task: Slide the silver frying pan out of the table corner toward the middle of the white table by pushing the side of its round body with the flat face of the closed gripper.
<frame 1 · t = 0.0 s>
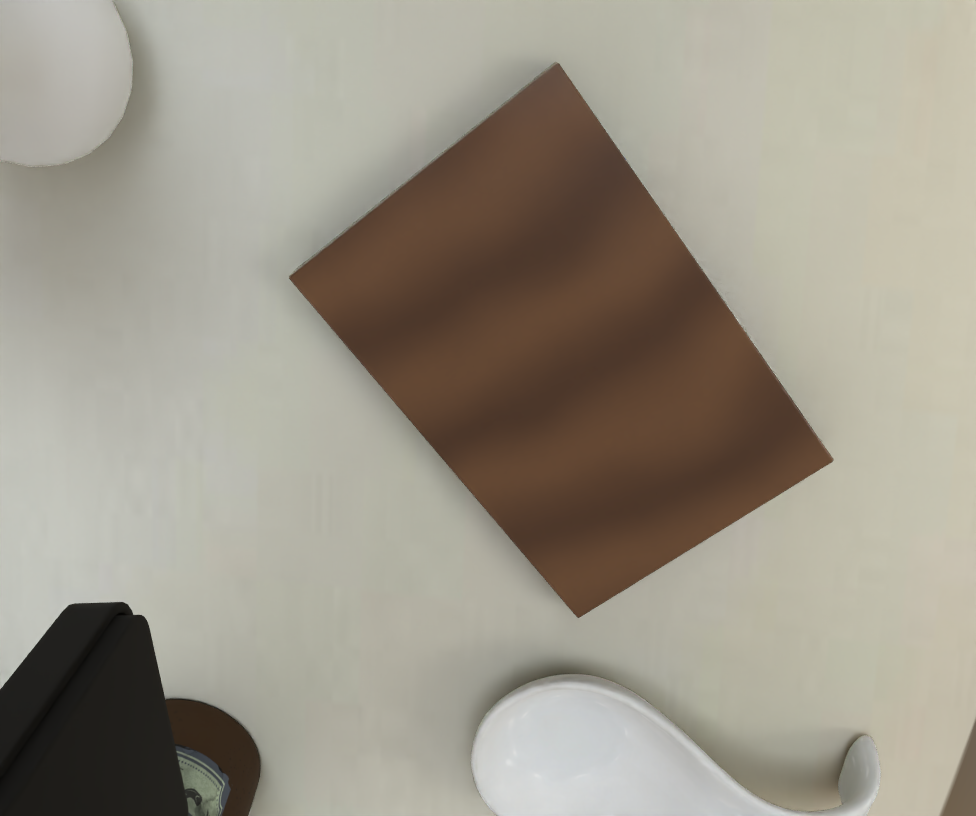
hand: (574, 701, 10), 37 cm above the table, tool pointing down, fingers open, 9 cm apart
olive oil: (188, 755, 58), on the table
walnut board: (567, 360, 48), on the table
flower vase: (48, 38, 43), on the table
spoon rest: (668, 732, 57), on the table
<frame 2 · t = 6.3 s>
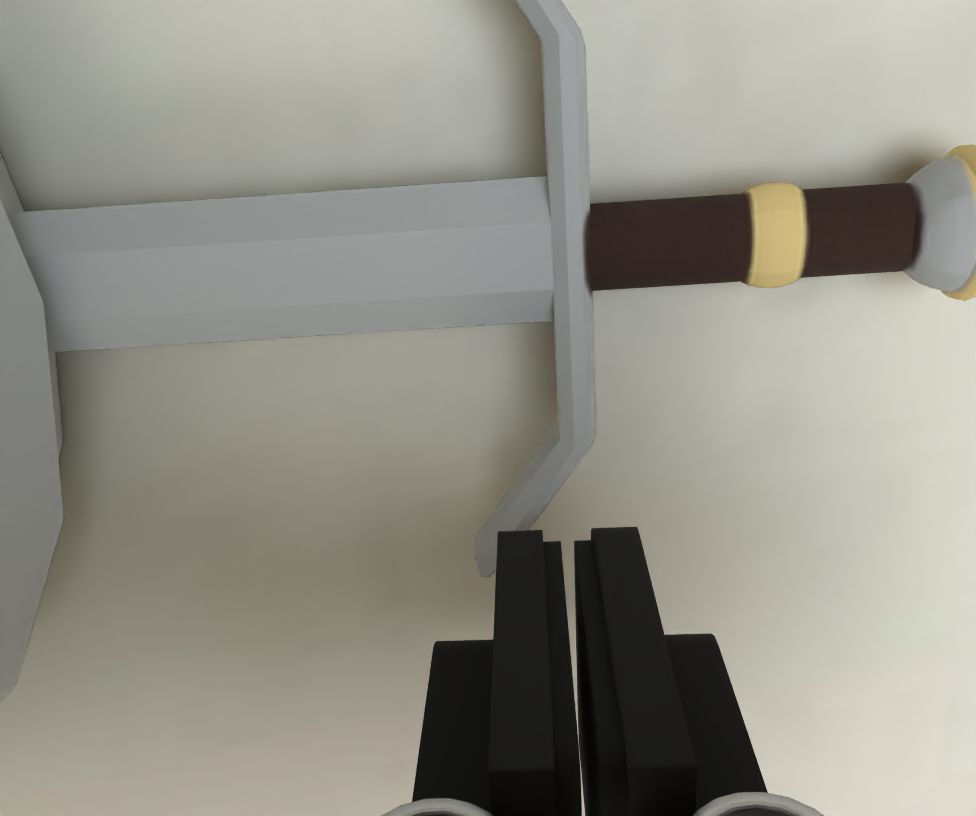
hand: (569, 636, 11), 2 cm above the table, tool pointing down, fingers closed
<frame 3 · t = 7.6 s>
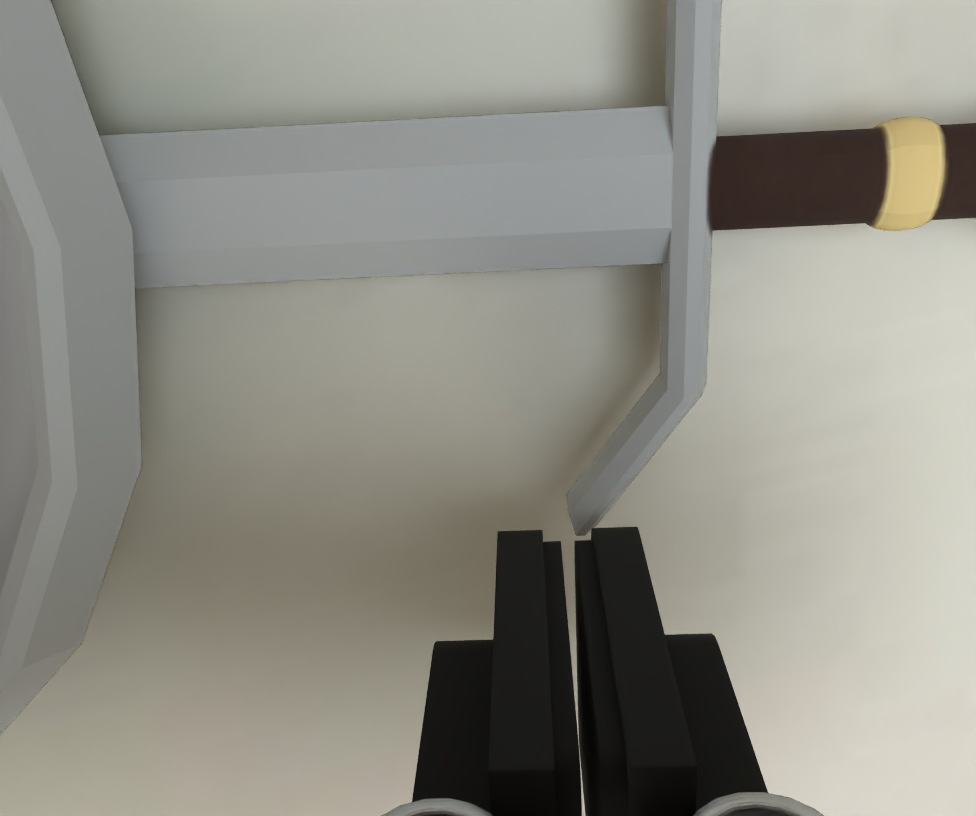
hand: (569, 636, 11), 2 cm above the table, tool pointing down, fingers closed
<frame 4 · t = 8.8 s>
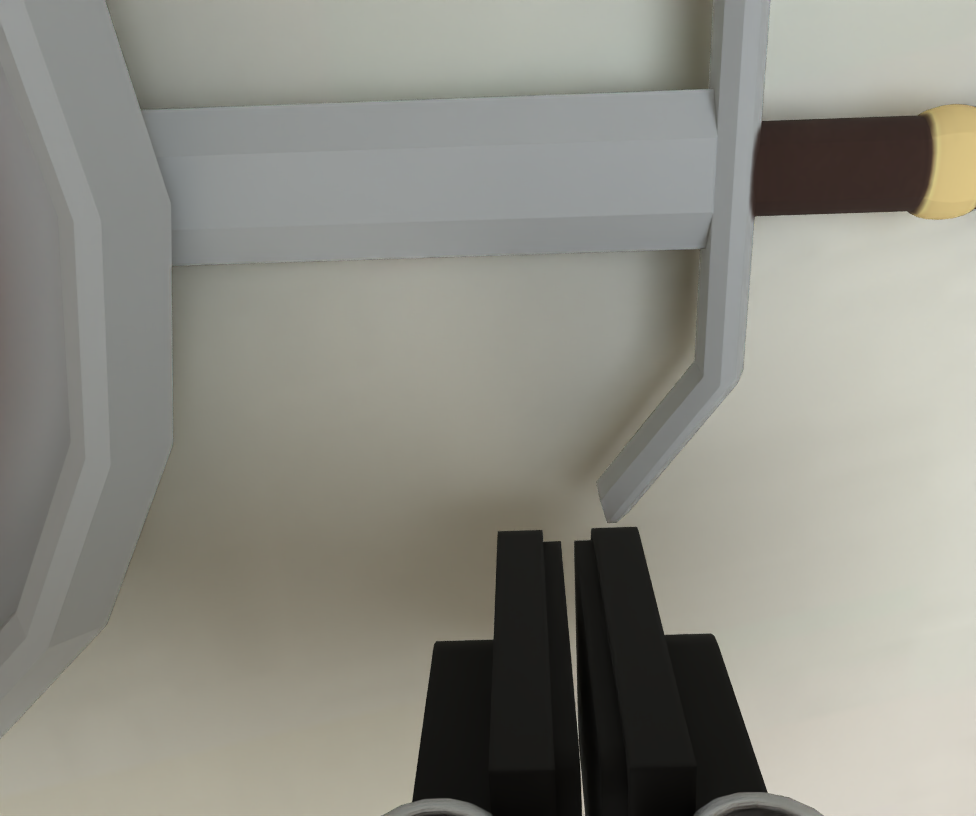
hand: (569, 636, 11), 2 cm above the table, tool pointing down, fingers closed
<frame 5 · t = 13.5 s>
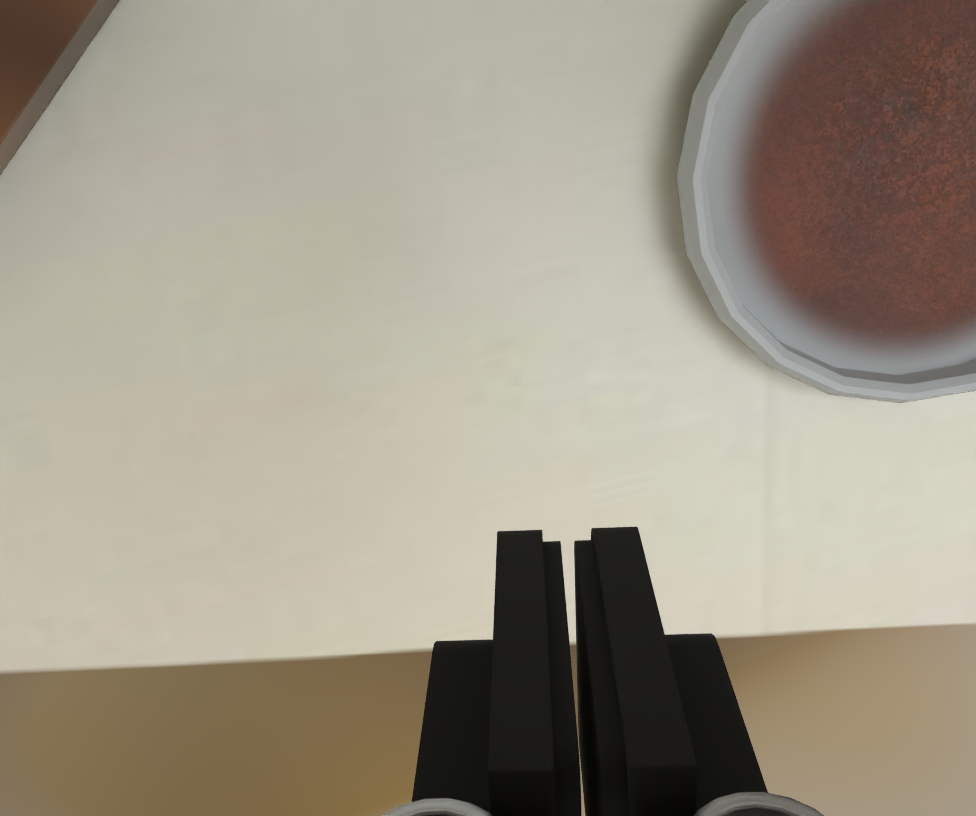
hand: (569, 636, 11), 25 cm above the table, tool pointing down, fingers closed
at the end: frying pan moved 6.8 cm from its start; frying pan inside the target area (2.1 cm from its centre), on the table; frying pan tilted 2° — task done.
